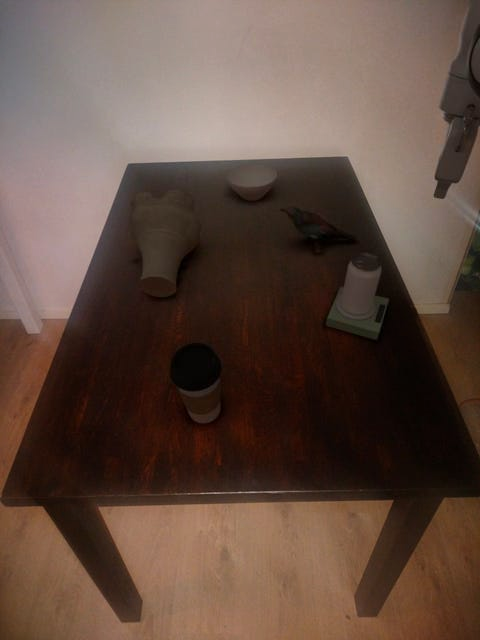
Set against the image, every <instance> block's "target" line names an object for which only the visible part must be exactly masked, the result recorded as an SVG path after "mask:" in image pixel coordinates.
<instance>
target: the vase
mask: <svg viewBox="0 0 480 640" xmlns="http://www.w3.org/2000/svg"><path fill="white" fill-rule="evenodd" d="M130 207H131V209H132V212H131V214H130V217H129V231H130V235H131V237H132V239H133V241H134V242H135V244H136V245H137V247H138V249H139V251H140V253H141V254H140V255H141V260H142V261H141V262H142V271H141V272H142V273H141V277H140V279H139V288H140V290H141V291H143V292H144V293H145V294H147V295H150V296H151V297H156V298H168V297H170V296H173V295H174V294H175V293H176V292H177V291H178V290H177V288H178V287H177V277H178V271H179V269H180V268H179V267H180V265H181V263H182V260H183V259H184V258H185V257H186V256H187V255H188V254H189V253H191V252H192V251H193V250H194V249H195V247H197V245H198V243H199V241H200V238H201V230H202V227H203V225H202V222H201V220H200V219H199V218H198V217H196V216H195V214H194V209H195V199H194V197H193V196H191V194H189V193H187V192H186V191H183V190H179V189H169V190H167V191H166V192H165V193H164V195H163V196H162V197H161V198H158V197H156V196H155V195H153V194H152V193H149V192H145V191H144V192H143V191H142V192H139V193H135V194H134V195H133V197H132V198H131V199H130Z"/></svg>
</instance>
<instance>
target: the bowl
mask: <svg viewBox="0 0 480 640" xmlns="http://www.w3.org/2000/svg"><path fill="white" fill-rule="evenodd" d="M277 178H278V171H277V170H276V169H275V168H274V167H273V166H270V165H268V164H264V163H253V162H252V163H243V164H239V165H236V166H234V167H232V168H231V169H229V171H227V173H226V180H227V183H228V185H229V186H230V188H231V189H232V190H233V191H234V192H235V193H236V194H237V195H239V196H240V198H242V200H245V201H250V202H254V201H259V200H261V199H262V198H264V196H265V195H266V194H267V192H269V191H270V190H272V188H273V186H274V185H275V184H276V182H277Z"/></svg>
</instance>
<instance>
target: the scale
mask: <svg viewBox="0 0 480 640" xmlns="http://www.w3.org/2000/svg"><path fill="white" fill-rule="evenodd" d="M343 289H344V286H340V287H339V289H338V291H337V294H336V296H335V298H334V301H333V303H332V304H331V305H332V306H331V308H330V310H329V312H328V315H327V317H326V322H325V326H326V327H330V328H333V329H336V330H338V331H339V330H340V331H343V332H346V333H350V334H354V335H357V336H361V337H364V338H367V339H371V340H374V341H377V340H378V338H379V335H380V332H381V329H382V325H383V321H384V317H385V315H386V311H387V307H388V305H389V301H390V299H389V298H387V297H384V296H380V295H376V294H375V296H374V300H373V303H372V306H371V309H370V310H369V311H368V312H367V313H365V314H361V315H354V314H351V313H348V312H347V311H346V310H345V309H344V308H343V307H342V305H341V299H342V294H343Z"/></svg>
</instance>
